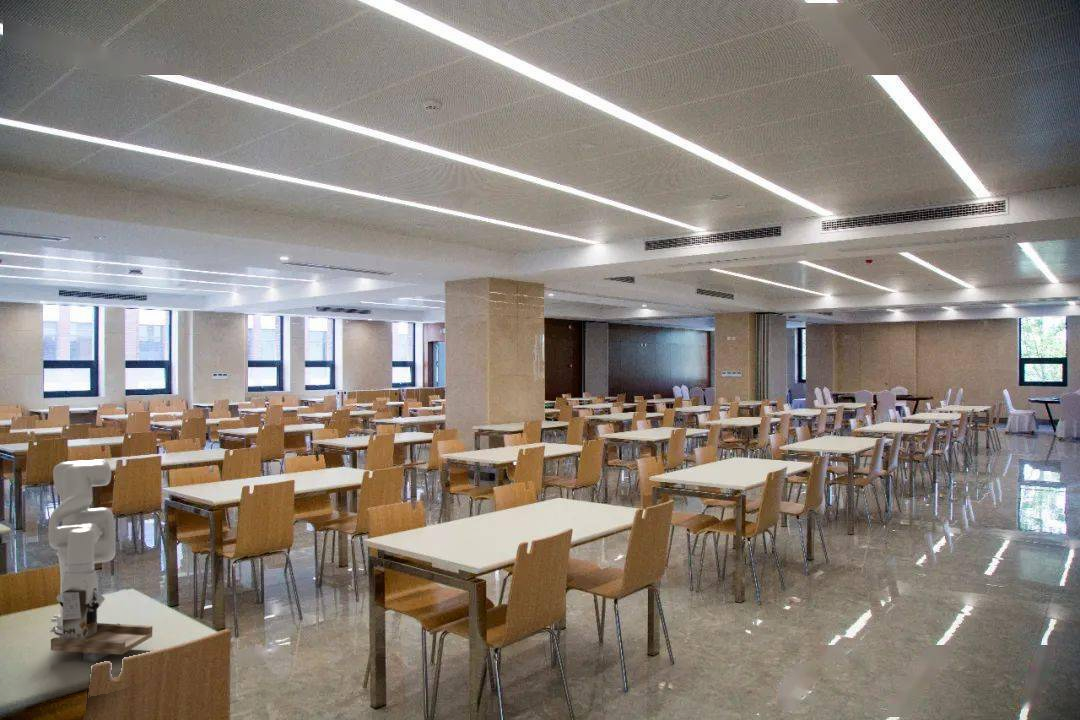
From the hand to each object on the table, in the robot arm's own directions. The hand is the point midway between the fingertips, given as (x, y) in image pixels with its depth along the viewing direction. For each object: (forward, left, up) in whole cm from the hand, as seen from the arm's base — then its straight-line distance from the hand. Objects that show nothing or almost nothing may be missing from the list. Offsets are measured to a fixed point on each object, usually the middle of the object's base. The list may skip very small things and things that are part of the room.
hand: (80, 621), depth 241 cm
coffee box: (0, 0, -5) cm, 5 cm away
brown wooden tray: (+8, 0, -10) cm, 13 cm away
